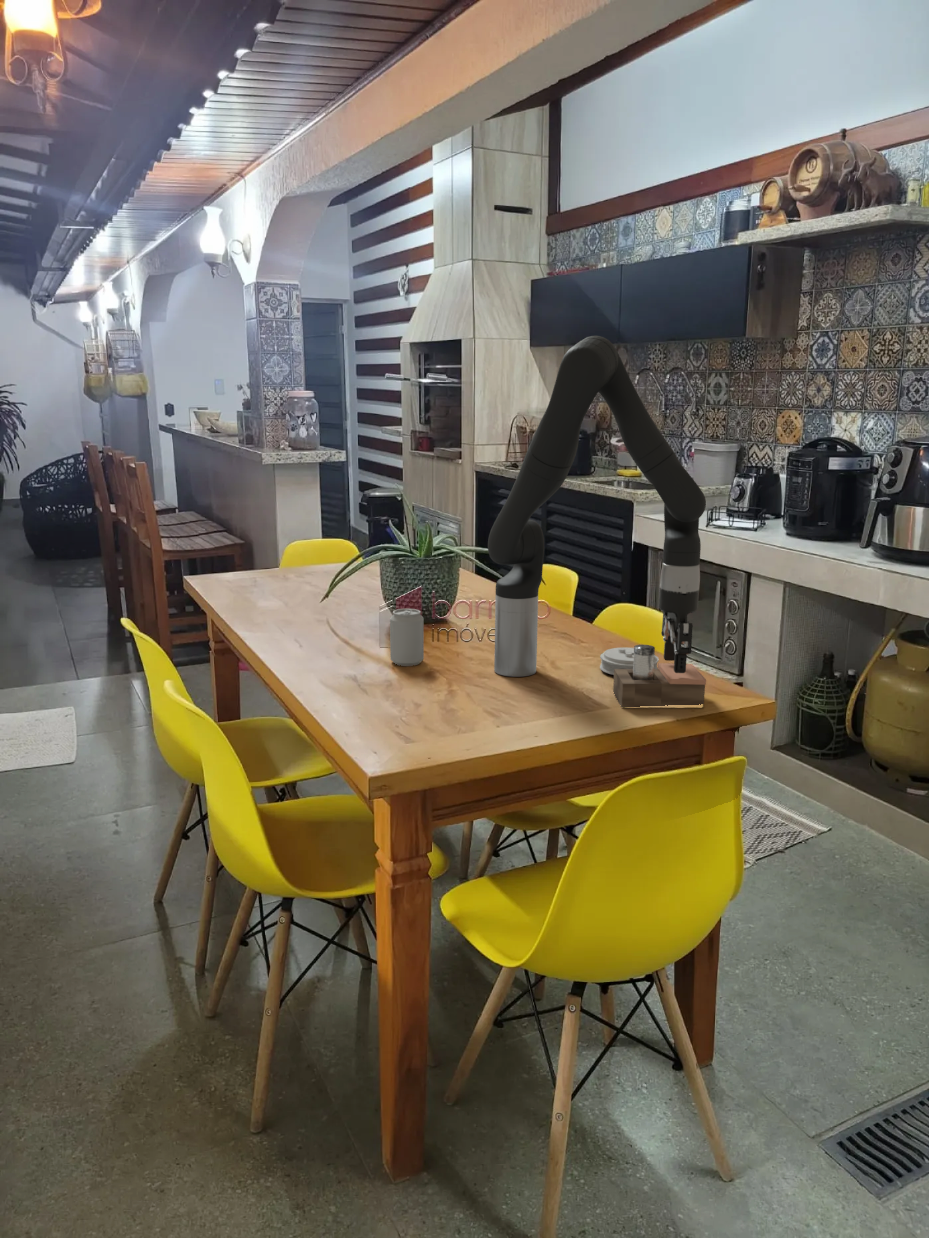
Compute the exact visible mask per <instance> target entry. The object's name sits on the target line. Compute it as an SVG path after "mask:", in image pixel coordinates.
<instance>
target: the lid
mask: <svg viewBox="0 0 929 1238" xmlns="http://www.w3.org/2000/svg"><path fill="white" fill-rule="evenodd" d="M655 654H656V653H655ZM655 654H654V669H658V663H659V660H660V659H659V656H657V655H655ZM599 658H600V660H601V663H600V664H599V669H600V670H601V671H602V672H603V673H606V674H609V675H613V676H614V669H633V662H634V647H613V648H608V649H606V650H605V651H604V652H603V653H601V654H600V656H599Z"/></svg>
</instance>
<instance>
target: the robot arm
mask: <svg viewBox="0 0 929 1238" xmlns="http://www.w3.org/2000/svg"><path fill="white" fill-rule="evenodd" d="M598 393H599V395H600V396H601V398H603V400H604V401H605V402H606V404H607V406H608V407H609V410H610V411H611V413H612V415H613V417H614V420H615V423H616V425H617V428H618V430H619V431H618V432H619V434H620V436H621V437H620V438H621V439H622V442H623V444H624V447H625V448H626V450H627V453H628V454H629V456H630V457H631V459H632V460H633V461H634V463H635V465H636V466H637V468H638V469H639V471H640V472H641V473H642V475H643V476H644V477H645V479H647V481H648V482H649V483H650V484H651V485H652V486H653V488H654V490H656V493H657V494H658V495H659V497H660V498H661V499H660V500H662V502H663V520H664V524H663V525H664V539H663V548H662V549H663V551H662V552H663V553H662V565H661V571H660V577H659V580H660V581H659V594H658V595H659V596H658V608H659V610H660V611H662V613H663V614H662V623H661V637H662V639H663V643H664V645H663V646H664V647H663V660H665V661H666V662H667V661H668V662H669V661H670V662H671V661H673V664H674V672H675V673H685V672H686V664H687V660H688V659H687V657H688V655H690V654H692V642H693V641H692V640H693V627H694V626H693V625H694V624H693V623H692V622H690V621H689V620H688V615H689V614H693V613H696V612H697V611H698V609H699V596H700V595H699V593H700V583H701V582H700V581H701V572H700V571H701V570H700V562H701V547H702V546H701V545H702V544H701V537H700V534H699V527H700V518H701V517H702V516H703V515H704V513H705V510H706V507H707V500H706V497H705V494H704V492H703V490H702V489H701V488H700V486H699V485H698V484H697V482H696V481H695V480H694V478H693V477H692V476H691V474H689V472H688V471H687V470H686V469H685V467H684V466H683V465H682V463H681V461H680V460H679V458H678V456H677V455H676V453H675V451H674V450H673V448H672V447H671V446H670V444H669V442H668V441H667V439H666V438H665V437H664V435H663V433H662V432H661V431H660V429H659V428H658V426H657V425H656V423H655V422H654V420H653V418H652V417H651V415H650V414H649V412H648V410H647V408H646V407H645V405H644V403H643V401H642V400H641V397H640V395H639V393H638V390H636V387H635V386H634V384H633V381H632V380H631V378H630V375H629V374H628V371H627V369H626V367H625V365H624V362H623V360H622V358H621V355H620V354H619V352H618V351H617V348H616V347H615V346H614V344H613V343H612V341H610V340H609V339H608V338H606V337H604V336H600V335H591V336H586V337H585V338H584V339H582V340H580V341H579V342H576V344H574V345H573V346H572V347H570V348H569V349H568V350H567V351H566V353H564V355H563V357H562V359H561V361H560V363H559V368H558V370H557V375H556V377H555V381H554V385H553V390H552V392H551V396H550V399H549V402H548V405H547V406H546V409H545V411H544V414H543V416H542V418H541V419H540V421H539V424H538V425H537V428H536V430H535V432H534V434H533V437H532V439H531V441H530V444H529V446H528V448H527V451H526V453H525V456H524V458H523V461H522V463H521V467H520V470H519V472H518V473H517V476H516V478H515V481H514V484H513V486H512V488H511V489H510V493H509V495H508V497H507V499H506V501H505V502H504V504H503V506H502V508H501V510H500V512H499V513H498V515H497V517H496V519H495V520H494V522H493V525H492V527H491V529H490V532H489V534H488V539H487V540H488V541H487V552H488V555H489V558H490V559H491V560H492V561H493V562H494V563H496V564H498V565H500V566H501V565H503V566H507V565H508V566H510V565H513V567H512V568H511V569H510V571H509V572H508V573H507V574H506V575H504V576H502V577H501V578H499V579H498V580H497V581H496V583H495V598H494V599H495V603H494V605H495V611H494V612H495V613H494V615H495V616H494V617H495V618H494V619H495V620H494V663H493V664H494V672H495V673H496V674H498V675H500V676H505V677H512V678H513V677H518V678H519V677H528V676H532V675H535V674H536V673H537V659H538V658H537V656H538V655H537V654H538V623H539V622H538V620H539V619H538V617H539V616H538V613H539V589H540V586H541V583H542V579H543V570H544V557H545V556H544V555H545V536H544V533H543V530H542V527H541V526H540V524H539V523H538V522H537V521H535V520H534V519H531V517H532V516H533V514H534V513H535V512H536V511H537V510H538V509H540V507H542V506H543V504H545V503H546V502H547V501H548V500H549V499H550V498H551V497H552V496H554V494H555V493H557V491H558V490H559V489H560V488H561V487H562V485H563V483H565V481H566V479H567V477H568V474H569V472H570V471H571V467H572V466H573V463H574V461H575V458H576V455H577V452H578V448H579V440H580V433H581V432H580V431H581V427H582V424H583V421H584V419H585V416H586V414H587V413H588V411H589V408H590V407H591V405H592V403H593V402H594V400H595V398H596V396H597V395H598ZM682 644H683V647H682Z"/></svg>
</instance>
